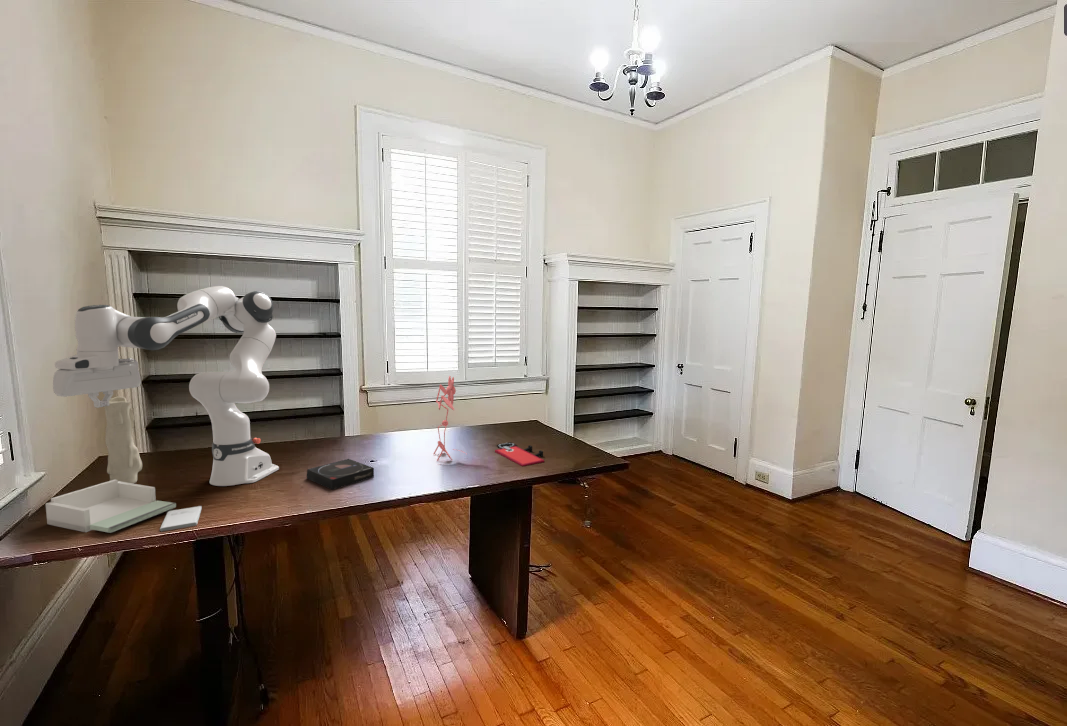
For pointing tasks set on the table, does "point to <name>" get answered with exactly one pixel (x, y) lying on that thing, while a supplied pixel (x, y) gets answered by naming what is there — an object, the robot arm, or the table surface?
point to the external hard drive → (181, 518)
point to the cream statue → (121, 442)
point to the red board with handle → (519, 454)
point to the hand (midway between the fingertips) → (101, 406)
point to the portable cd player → (340, 473)
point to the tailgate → (132, 516)
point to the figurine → (450, 392)
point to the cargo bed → (96, 504)
